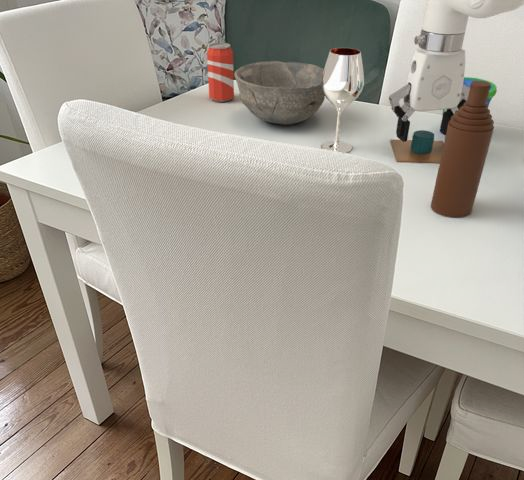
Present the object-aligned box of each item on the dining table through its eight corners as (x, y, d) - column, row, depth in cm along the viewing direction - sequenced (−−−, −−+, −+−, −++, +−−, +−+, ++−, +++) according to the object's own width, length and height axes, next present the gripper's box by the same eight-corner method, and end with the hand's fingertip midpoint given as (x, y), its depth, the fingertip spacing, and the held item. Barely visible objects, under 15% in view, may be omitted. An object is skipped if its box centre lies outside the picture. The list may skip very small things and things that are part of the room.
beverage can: (238, 97, 142) (237, 44, 134) (224, 104, 138) (222, 49, 130) (218, 93, 144) (216, 40, 136) (204, 100, 140) (201, 46, 132)
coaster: (442, 142, 120) (443, 140, 119) (453, 163, 111) (453, 161, 111) (390, 141, 120) (390, 139, 120) (396, 161, 112) (396, 160, 111)
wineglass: (317, 139, 120) (323, 45, 109) (355, 141, 120) (366, 46, 108) (315, 154, 114) (322, 56, 103) (356, 156, 114) (368, 57, 102)
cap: (420, 155, 113) (424, 139, 111) (406, 148, 116) (409, 132, 114) (435, 151, 115) (439, 135, 113) (421, 144, 118) (424, 128, 115)
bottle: (458, 197, 100) (489, 75, 87) (479, 215, 95) (514, 88, 82) (423, 201, 99) (448, 78, 86) (442, 219, 94) (472, 91, 81)
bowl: (266, 143, 119) (267, 92, 112) (218, 114, 132) (216, 68, 125) (344, 124, 127) (349, 77, 121) (291, 100, 140) (293, 55, 134)
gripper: (408, 49, 98) (392, 148, 109) (495, 43, 102) (471, 139, 113) (388, 39, 103) (375, 134, 114) (471, 34, 107) (451, 126, 118)
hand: (423, 136), depth 114 cm, fingers open, 9 cm apart
